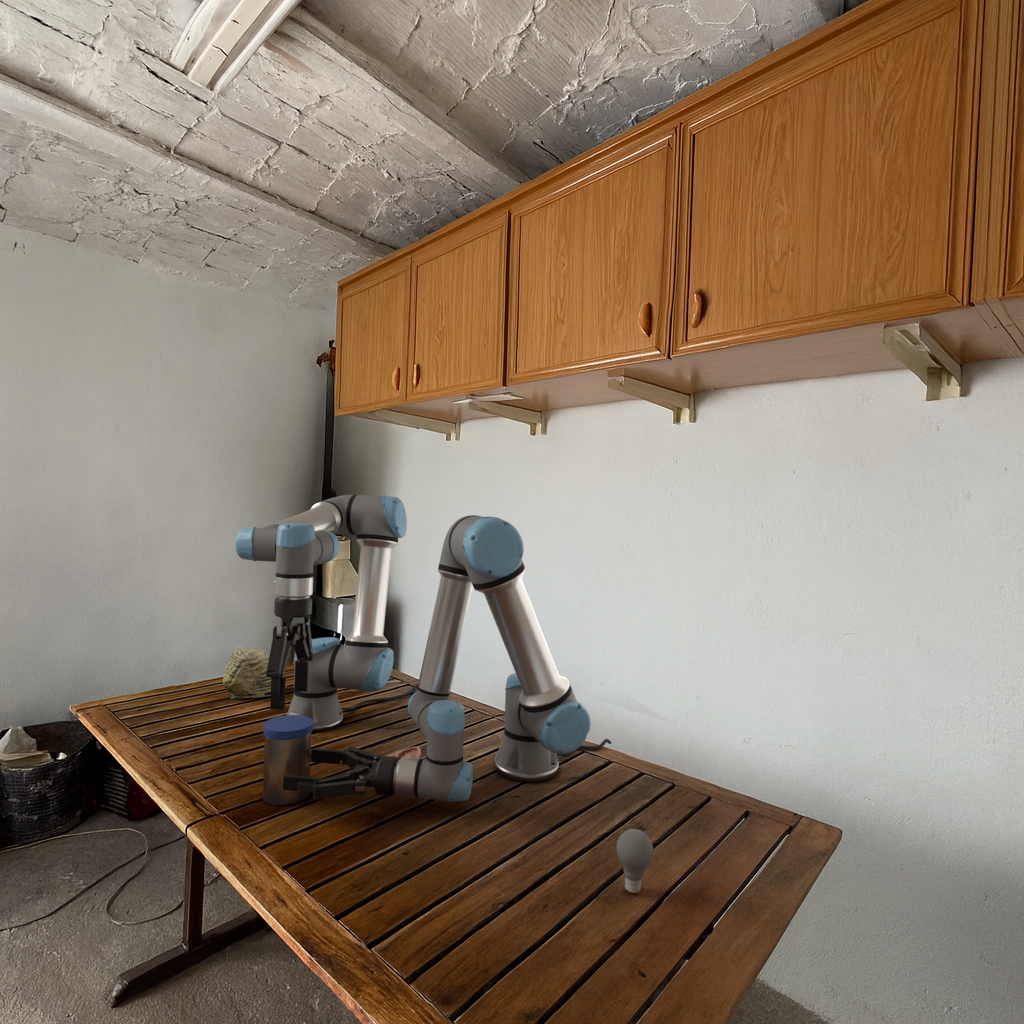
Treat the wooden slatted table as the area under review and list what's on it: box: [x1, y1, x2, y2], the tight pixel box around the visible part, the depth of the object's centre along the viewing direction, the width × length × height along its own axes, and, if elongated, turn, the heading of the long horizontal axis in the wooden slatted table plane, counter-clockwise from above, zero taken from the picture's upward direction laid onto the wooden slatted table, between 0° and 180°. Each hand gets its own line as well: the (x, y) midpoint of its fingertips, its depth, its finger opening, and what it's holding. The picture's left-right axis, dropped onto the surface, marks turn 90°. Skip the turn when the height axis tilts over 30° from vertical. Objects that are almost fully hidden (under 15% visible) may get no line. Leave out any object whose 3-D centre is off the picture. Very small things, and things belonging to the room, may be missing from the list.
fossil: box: [222, 646, 288, 699], centre depth 198 cm, size 9×18×15 cm, turn 132°
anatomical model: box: [386, 746, 422, 759], centre depth 149 cm, size 13×4×12 cm
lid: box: [262, 714, 313, 740], centre depth 134 cm, size 10×10×2 cm
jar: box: [262, 732, 312, 806], centre depth 134 cm, size 9×9×15 cm
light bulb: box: [615, 828, 654, 894], centre depth 106 cm, size 6×6×10 cm
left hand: (289, 699), depth 134 cm, fingers open, 11 cm apart
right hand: (298, 768), depth 133 cm, fingers open, 13 cm apart
